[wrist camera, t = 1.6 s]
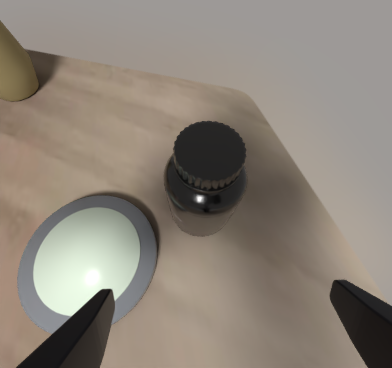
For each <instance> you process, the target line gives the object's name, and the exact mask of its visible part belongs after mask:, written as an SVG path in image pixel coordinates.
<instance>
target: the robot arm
mask: <svg viewBox="0 0 392 368" xmlns="http://www.w3.org/2000/svg"><path fill="white" fill-rule="evenodd" d="M330 300H331V303H332V305H333V306H334V308H335V310H336V312H337V314H338V316H339V318H340V320H341V322H342V324H343V326H344V328H345V330H346V331H347V333H348V335H349V337H350V339H351V341H352V343H353V344H354V346H355V348H356V349H357V351H358V353H359V354H360V356H361V357H362V359H363V361H364V362H365V364H366V365H367V367H368V368H392V306H391V305H389V304H387V303H385V302H384V301H382V300H380V299H378V298H377V297H375V296H373V295H371V294H370V293H368V292H366V291H364V290H363V289H361V288H359V287H357V286H355V285H354V284H352V283H350V282H348V281H347V280H334V281H333V284H332V288H331V292H330ZM114 311H115V300H114V295H113V290H112V289H101V290H100V291H98V292H97V293H96V294H95V295H94V296H93V297H92V298H91V299H90V300H89V301H88V302H86V303H85V304H84V305H83V306H82V307H81V308H80V309H79V310H78V311H77V312H76V313H75V314H73V315H72V316H71V317H70V318H69V319H68V320H67V321H66V322H65V323H64V324H63V325H62V326H60V327H59V328H58V329H57V330H56V331H55V332H54V333H53V334H52V335H51V336H50V337H49V338H47V339H46V340H45V341H44V342H43V343H42V344H41V345H40V346H39V347H38V348H37V349H36V350H34V351H33V352H32V353H31V354H30V355H29V356H28V357H27V358H26V359H25V360H24V361H23V362H21V363H20V364H19V365H18V366H17V367H16V368H100V365H101V362H102V359H103V356H104V352H105V348H106V344H107V340H108V336H109V332H110V328H111V324H112V320H113V316H114Z"/></svg>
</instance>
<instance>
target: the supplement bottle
mask: <svg viewBox="0 0 392 368" xmlns="http://www.w3.org/2000/svg"><path fill="white" fill-rule="evenodd" d="M174 145H175V146H174V148H173V152H174V153H173V154H172V155H171V157H170V158H169V160H168V162H167V164H166V166H165V170H164V185H165V190H166V194H167V198H168V202H169V206H170V210H171V214H172V217H173V219H174V221H175V223H176V224H177V225H178V227H179V228H180V229H182V230H183V231H184V232H186V233H188V234H190V235H193V236H209V235H212V234H214V233H216V232H218V231H219V230H220V229H221V228H222V227H223V226H224V225H225V224H226V222H227V221H228V219H229V218H230V216H231V215H232V213H233V212H234V210H235V209H236V207H237V205H238V204H239V202H240V201H241V199H242V197H243V195H244V193H245V191H246V187H247V172H246V168H245V166H244V163H245V158H246V154H245V153H246V148H245V144H244V142H243V140H242V138H241V137H240V136H239V134H238V133H237V132H235V130H234V129H232V128H230V127H229V126H227V125H224V124H223V123H218V122H212V121H202V122H196V123H195V124H191V125H189V127H186V128H185V129H184V130H183V131H181V132H180V135H178V136H177V140H176V141H175V142H174Z"/></svg>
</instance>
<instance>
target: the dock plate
mask: <svg viewBox="0 0 392 368" xmlns="http://www.w3.org/2000/svg"><path fill="white" fill-rule="evenodd" d="M156 262H157V243H156V238H155V234H154V231H153V229H152V227H151V225H150V223H149V221H148V220H147V218H146V217H145V215H144V214H143V213H142V212H141V211H140V210H139V209H138V208H137V207H136V206H134V205H133V204H131V203H130V202H128V201H126V200H124V199H121V198H118V197H113V196H104V195H99V196H90V197H85V198H82V199H79V200H76V201H73V202H71V203H69V204H67V205H65V206H63V207H62V208H60V209H59V210H57V211H56V212H54V213H53V214H52V215H51V216H49V217H48V218H47V219H46V220H45V221H44V222H43V223H42V224H41V225H40V226H39V228H38V229H37V230H36V231H35V233H34V234H33V236H32V237H31V239H30V240H29V242H28V244H27V246H26V248H25V250H24V252H23V255H22V258H21V261H20V265H19V270H18V277H17V283H18V294H19V298H20V301H21V305H22V307H23V309H24V311H25V313H26V314H27V315H28V317H29V318H30V319H31V321H33V322H34V323H35V324H36V325H37V326H38V327H40V328H41V329H43V330H45V331H46V332H49V333H52V334H53V333H54V332H55V331H56V330H57V329H58V328H59V327H60V326H62V325H63V324H64V323H65V322H66V321H67V320H68V319H69V318H70V317H71V316H72V315H73V314H75V313H76V312H77V311H78V310H79V309H80V308H81V307H82V306H83V305H84V304H85V303H86V302H88V301H89V300H90V299H91V298H92V297H93V296H94V295H95V294H96V293H97V292H98V291H100V290H101V289H112V290H113V295H114V300H115V311H114V316H113V320H112V324H114V323H116V322H117V321H119V320H120V319H122V318H123V317H124V316H125V315H127V314H128V313H129V312H130V311H131V310H132V309H133V308H134V307H135V306H136V305H137V303H138V302H139V301H140V300H141V299H142V297H143V295H144V294H145V292H146V291H147V289H148V287H149V285H150V283H151V280H152V278H153V275H154V272H155V267H156ZM112 324H111V325H112Z"/></svg>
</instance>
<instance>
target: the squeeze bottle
mask: <svg viewBox="0 0 392 368" xmlns="http://www.w3.org/2000/svg"><path fill="white" fill-rule="evenodd" d="M38 86H39V82H38V79H37V76H36V73H35V70H34V67H33V64H32V61H31V59H30V56H29V54H28V53H27V52H26V51H25V50H24V48H23V47H22V46H21V45H20V44H19V43H18V41H17V40H16V39H15V38H14V37H13V35H12V34H11V33H10V32H9V30H8V29H7V28H6V27H5V26H4V24H3V23H2V22H1V21H0V98H1V99H3V100H6V101H19V100H22V99H25V98H28V97H29V96H31V95H32V94H34V93H35V91H36V90H37V89H38Z"/></svg>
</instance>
